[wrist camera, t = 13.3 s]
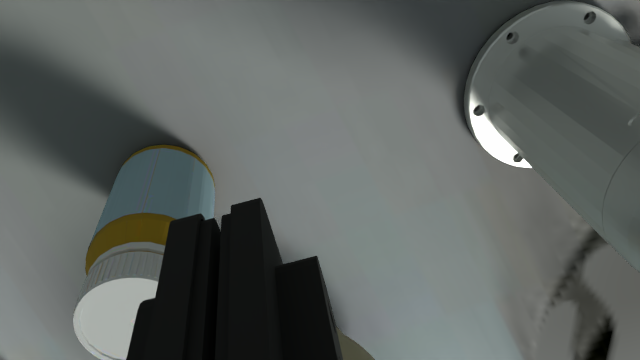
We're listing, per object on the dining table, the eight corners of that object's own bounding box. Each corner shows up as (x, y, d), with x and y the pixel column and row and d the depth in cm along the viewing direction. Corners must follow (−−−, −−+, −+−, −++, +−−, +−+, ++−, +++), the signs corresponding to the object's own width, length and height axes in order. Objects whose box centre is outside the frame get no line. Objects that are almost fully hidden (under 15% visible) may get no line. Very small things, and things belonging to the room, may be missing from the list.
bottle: (107, 147, 40) (44, 281, 27) (206, 135, 40) (191, 260, 27) (131, 229, 43) (85, 383, 30) (222, 216, 44) (216, 362, 31)
